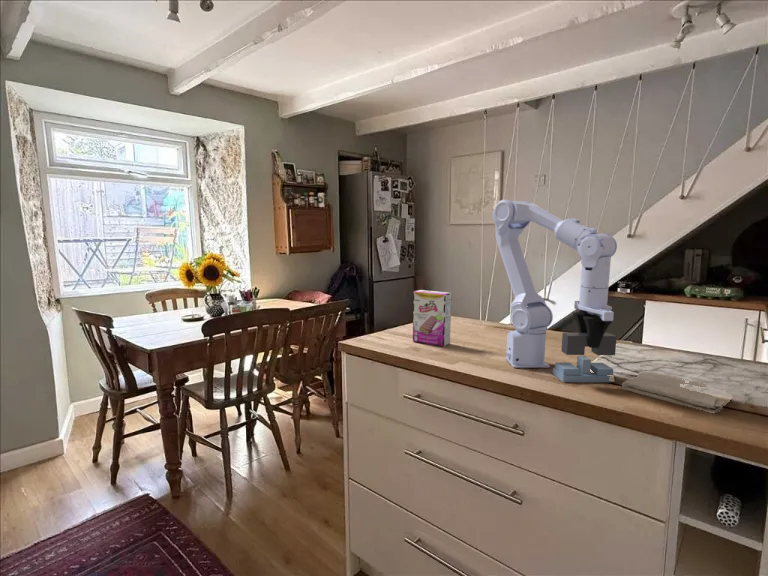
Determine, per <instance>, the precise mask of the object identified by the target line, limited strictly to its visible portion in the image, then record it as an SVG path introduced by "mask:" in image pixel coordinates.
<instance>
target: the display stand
mask: <svg viewBox="0 0 768 576" xmlns="http://www.w3.org/2000/svg"><path fill="white" fill-rule="evenodd" d="M576 356H577V357H576V359H577V361H576V366H575V365H574V364H572V362H557V361H556V362H555V363H554V367H553V368H552V374H553V375H554V376H555V377H556V378H557V379H559V381H561V382H562V383H610V382H609V377H610V376H607V375H614V368H613V367H611V366H610V365H608V364H606V363H604V362H592V361H591V360H592V359H591V358H589V357H587V356H585V355H576ZM590 369H591V370H592V371H593V372H594V373H591V372H590Z"/></svg>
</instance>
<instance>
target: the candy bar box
mask: <svg viewBox="0 0 768 576" xmlns="http://www.w3.org/2000/svg"><path fill="white" fill-rule="evenodd" d="M412 301H413V302H412V303H413V310H412V311H413V312H412V314H413V315H412V316H413V317H412V323H413V324H412V342H413V343H414V342H415V343H421V344H424V345H425V344H426V345H433V346H438V347H446V346H448V345H450V344H451V325H452V324H451V323H452V322H451V320H452V317H451V316H452V293H451V292H447V291H435V290H425V289H418V290H414V291H413V300H412Z"/></svg>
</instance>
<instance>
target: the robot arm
mask: <svg viewBox="0 0 768 576" xmlns="http://www.w3.org/2000/svg"><path fill="white" fill-rule="evenodd" d="M491 216H492V220H493V223H494V226H495V241H496V244H497V246H498V250H499V253H500V256H501V259H502V262H503V266H504V268H505V272H506V274H507V278H508V281H509V284H510V287H511V290H512V293H513V296H514V299H513V300H512V302H511V304H510V306H509V308H510V310H511V316H510V318H511V323H512V325H513V327H514V328H515V330H510V331H507V336H506V350H505V351H506V353H505V354H506V355H505V360H506V361H507V362H508V363H509V365H511V367H513V368H521V369H522V368H523V369H524V368H525V369H526V368H527V369H528V368H531V369H532V368H533V369H534V368H539V369H540V368H543V369H544V368H545V369H546V368H551V365H550V364H548V363H547V361H545V359H546V357H545V356H546V354H545V353H546V338H547V337H546V336H547V331H548V327H549V326H550V325H551V324H552V322H553V318H554V317H553V312H552V309H551V308H550V307H549V306H548V305H547V303H546V301H545V298H544V297H543V296H541V295H540V294H538V293H537V292H536V289H535V286H534V283H533V280H532V278H531V275H530V274H531V273H530V271H529V268H528V265H527V262H526V259H525V257H524V254H523V250H522V247H521V245H520V241H519V237H520V235H521V234H522V233H523V232H524V231H525V230H526V228H527V227H528V226H529V225H530V223H531V222H532V223H534V224H536V225H538V226H541V227H543V228H545V229H547V230H549V231H551V232H553V233H554V236H555V239H556V240H557V241H559V242H561V243H563V244H565V246H568V247H570V248H572V249H573V250H575V251H577V253H578V255H579V256H580V258H581V259H580V260H581V263H580V264H581V272H580V274H581V275H580V289H579V299H578V300H574V304H573V306H574V308H573V309H574V310H580V311H578V312H573V318H575V321H576V323H577V327H578V333H587V340H588V346H589V347H588V348H599V346H600V343H601V340H602V337H603V335H604V333H606V331H607V329H608V328H609V326H610V325H611V324H612V322H613V321H614V314H615V312H614V311H612V309H613V307H612V306H611V305H608V299H609V298H608V297H609V288H610V287H609V285H610V274H611V273H610V272H611V260H612V257H613V256H614V255H615V253H616V252H617V250H618V244H617V243H618V242H617V240H616V239H615V238H614V237H613V236H612V235H611V234H610V233H607V232H603V233H602V232H601V233H598V229H597V228H596V227H589V226H586V225H584V224H582V223H581V219H578V218H577V217H576V218H575V217H573V218H567V219H566V218H565V219H564V220H563V219H561V218H559V217H558V216H556V215H554V214H552V213H551V212H549V211H547V210H546V209H545V208H542V207H541V206H539V205H538V204H536V203H532V202H530V201H528V200H523V201H522V200H508V199H501V200H499V201H498V202H497V203H496V205H495V207H494V210H493V212H492V214H491Z"/></svg>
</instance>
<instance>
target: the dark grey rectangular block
mask: <svg viewBox="0 0 768 576" xmlns="http://www.w3.org/2000/svg"><path fill="white" fill-rule="evenodd" d="M561 336H562V338H561V339H562V340H561V351H560V352H562V353H564V354H565V355H566V356H585V349H586V347H588V348H590V347H589V346H588V340H587V333H579V332H562V335H561ZM617 337H618V336H617V335H615V334H613V333H611V332H605V333H604V335H603V337H602V340H601V343H600V346H599V348H591V351H590V352H591V353H593V354H595V355H597V356H616V347H617V339H618V338H617Z"/></svg>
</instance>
